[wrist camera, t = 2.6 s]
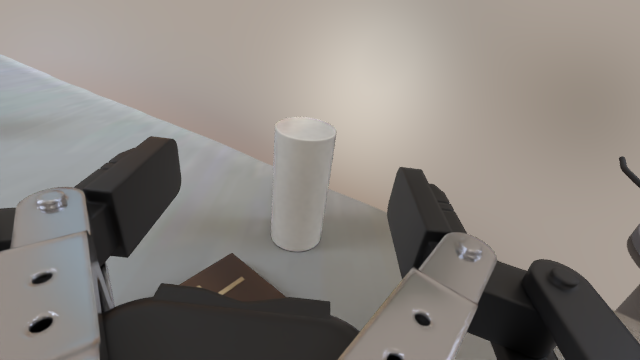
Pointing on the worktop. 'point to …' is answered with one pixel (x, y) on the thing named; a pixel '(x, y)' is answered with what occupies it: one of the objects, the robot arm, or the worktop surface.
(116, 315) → the robot arm
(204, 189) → the worktop surface
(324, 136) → the white cylinder
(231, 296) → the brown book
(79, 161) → the worktop surface
